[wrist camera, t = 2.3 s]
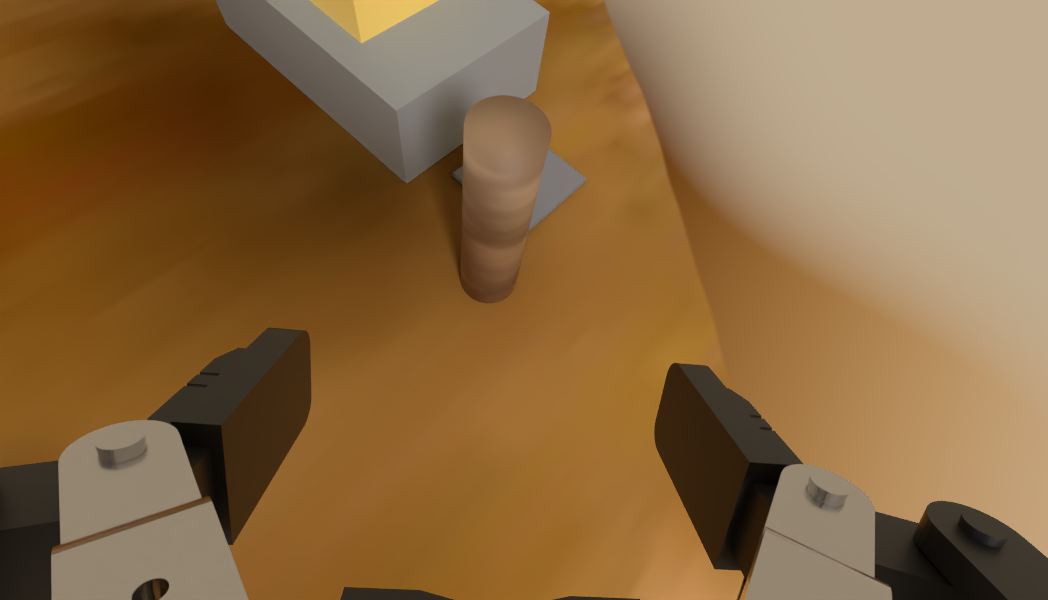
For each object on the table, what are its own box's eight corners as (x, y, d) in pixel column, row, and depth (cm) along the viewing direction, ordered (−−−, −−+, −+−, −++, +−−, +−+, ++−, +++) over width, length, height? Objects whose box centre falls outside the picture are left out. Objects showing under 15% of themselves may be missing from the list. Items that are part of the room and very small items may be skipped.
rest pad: (452, 176, 32) (452, 172, 32) (517, 128, 34) (518, 124, 34) (522, 236, 31) (523, 233, 30) (584, 182, 33) (586, 178, 33)
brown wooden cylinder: (448, 277, 29) (445, 124, 18) (487, 243, 30) (506, 82, 20) (488, 313, 28) (510, 178, 18) (527, 278, 30) (568, 131, 19)
